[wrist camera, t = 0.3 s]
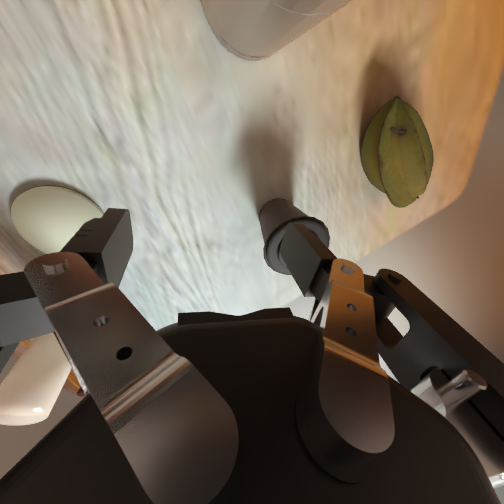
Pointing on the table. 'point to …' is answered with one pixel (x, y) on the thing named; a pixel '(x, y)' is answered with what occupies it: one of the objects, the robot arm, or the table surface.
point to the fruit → (397, 153)
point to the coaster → (51, 216)
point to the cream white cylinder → (34, 382)
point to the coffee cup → (274, 227)
